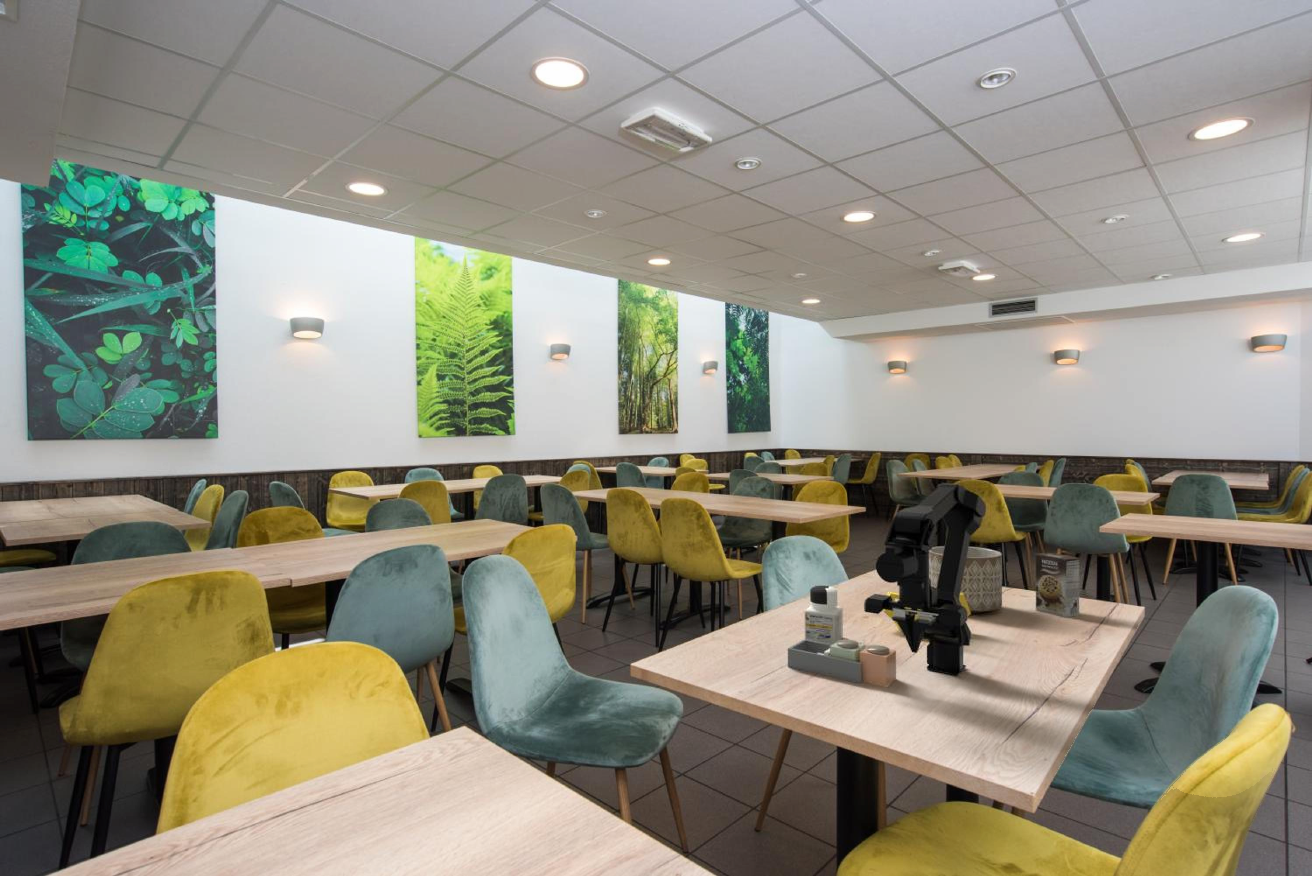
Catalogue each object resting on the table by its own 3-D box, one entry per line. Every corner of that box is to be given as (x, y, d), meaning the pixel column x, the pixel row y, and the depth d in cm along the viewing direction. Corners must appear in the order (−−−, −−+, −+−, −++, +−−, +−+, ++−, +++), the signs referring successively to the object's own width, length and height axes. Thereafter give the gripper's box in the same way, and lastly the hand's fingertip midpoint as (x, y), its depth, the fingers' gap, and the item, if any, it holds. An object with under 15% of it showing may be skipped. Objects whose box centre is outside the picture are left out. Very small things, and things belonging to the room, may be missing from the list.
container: (804, 641, 166) (804, 588, 166) (812, 633, 173) (812, 582, 172) (836, 645, 162) (835, 592, 162) (843, 637, 169) (842, 585, 169)
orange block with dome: (870, 673, 144) (870, 642, 144) (896, 679, 140) (895, 647, 140) (860, 681, 139) (859, 649, 139) (886, 687, 136) (886, 654, 136)
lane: (875, 672, 144) (875, 653, 144) (860, 683, 138) (860, 663, 138) (804, 656, 154) (804, 639, 154) (787, 666, 148) (787, 648, 148)
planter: (1005, 604, 199) (1004, 549, 199) (998, 620, 182) (998, 560, 182) (935, 596, 209) (934, 544, 209) (923, 611, 193) (922, 553, 192)
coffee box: (1034, 610, 193) (1034, 553, 192) (1049, 607, 195) (1049, 551, 195) (1065, 617, 184) (1065, 559, 184) (1080, 615, 187) (1080, 557, 187)
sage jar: (865, 672, 144) (864, 641, 144) (855, 680, 140) (855, 648, 140) (840, 667, 148) (840, 637, 148) (830, 674, 143) (829, 643, 143)
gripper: (974, 573, 135) (974, 650, 136) (882, 562, 147) (882, 634, 147) (959, 583, 127) (960, 666, 127) (862, 571, 138) (863, 647, 138)
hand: (914, 652), depth 135 cm, fingers closed
